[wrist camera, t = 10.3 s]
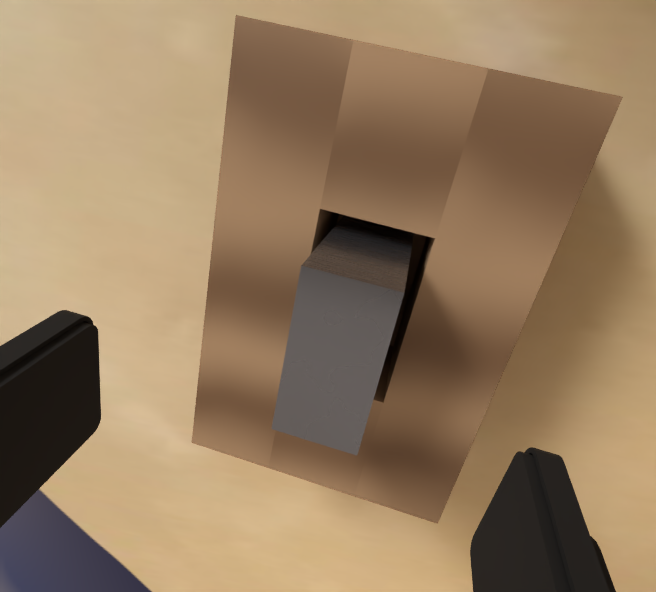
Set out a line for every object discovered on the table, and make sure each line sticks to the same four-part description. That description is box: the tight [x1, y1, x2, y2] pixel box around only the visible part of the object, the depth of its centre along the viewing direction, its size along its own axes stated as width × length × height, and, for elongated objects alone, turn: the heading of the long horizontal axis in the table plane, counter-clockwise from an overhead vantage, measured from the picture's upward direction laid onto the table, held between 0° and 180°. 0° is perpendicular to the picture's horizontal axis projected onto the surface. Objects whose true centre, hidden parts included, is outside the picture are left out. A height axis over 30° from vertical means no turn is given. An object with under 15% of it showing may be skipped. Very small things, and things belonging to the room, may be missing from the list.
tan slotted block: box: [192, 15, 623, 524], centre depth 21 cm, size 18×12×7 cm, turn 168°
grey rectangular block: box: [271, 215, 414, 455], centre depth 18 cm, size 6×3×9 cm, turn 169°
